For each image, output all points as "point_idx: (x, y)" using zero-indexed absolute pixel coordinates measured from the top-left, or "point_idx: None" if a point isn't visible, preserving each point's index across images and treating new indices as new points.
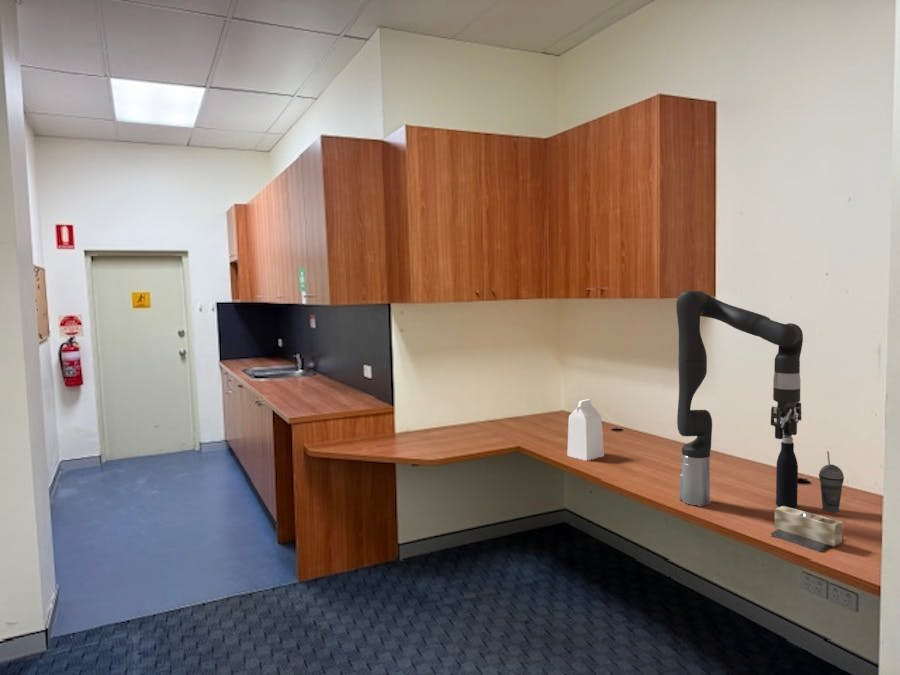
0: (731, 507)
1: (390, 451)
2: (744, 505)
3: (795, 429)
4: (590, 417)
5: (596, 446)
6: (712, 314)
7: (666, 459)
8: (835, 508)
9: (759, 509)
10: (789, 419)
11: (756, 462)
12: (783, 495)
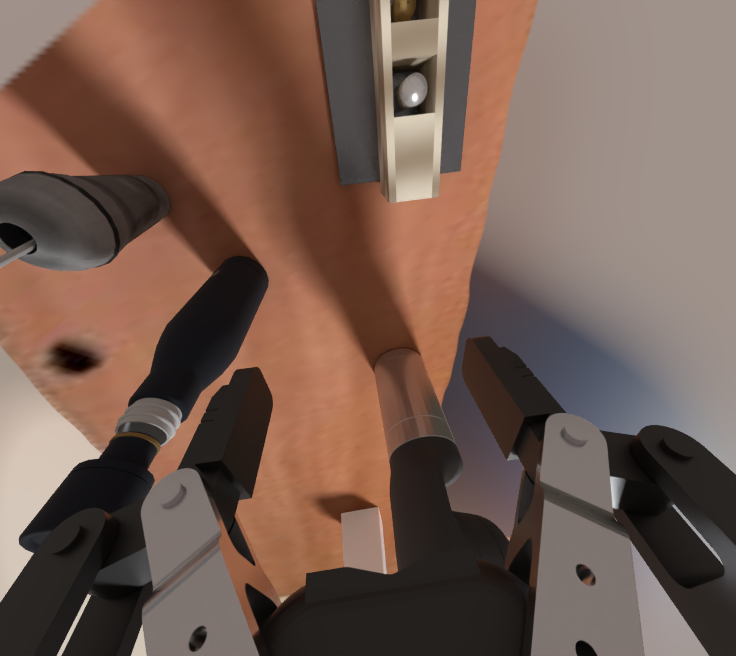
0: (366, 324)
1: None
2: (333, 320)
3: (243, 405)
4: None
5: (357, 530)
6: None
7: (266, 491)
8: (140, 177)
9: (325, 291)
10: (246, 543)
11: None
12: (258, 286)
